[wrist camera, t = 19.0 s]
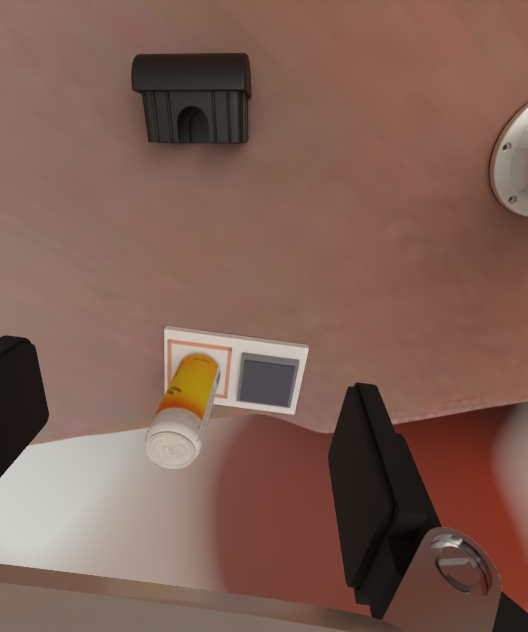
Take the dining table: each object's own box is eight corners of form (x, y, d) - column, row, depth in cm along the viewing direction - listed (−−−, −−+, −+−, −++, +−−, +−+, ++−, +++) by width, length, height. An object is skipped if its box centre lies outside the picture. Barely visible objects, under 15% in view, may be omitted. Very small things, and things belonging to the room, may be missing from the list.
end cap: (251, 62, 34) (245, 44, 28) (252, 143, 37) (246, 142, 31) (152, 64, 34) (124, 45, 28) (162, 142, 37) (138, 142, 31)
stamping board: (308, 344, 48) (309, 353, 46) (294, 410, 53) (294, 420, 51) (166, 325, 48) (161, 333, 45) (166, 393, 53) (161, 403, 51)
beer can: (176, 351, 48) (135, 430, 35) (219, 350, 48) (194, 430, 34) (183, 385, 51) (148, 471, 37) (223, 385, 50) (202, 471, 37)
